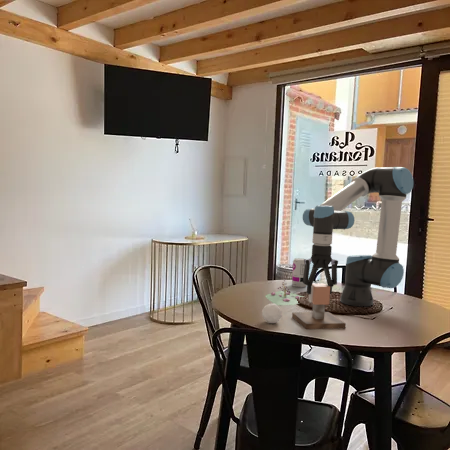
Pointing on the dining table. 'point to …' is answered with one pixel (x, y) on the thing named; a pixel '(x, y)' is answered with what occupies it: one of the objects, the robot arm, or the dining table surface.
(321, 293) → the salmon pink block
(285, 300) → the plant
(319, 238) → the robot arm
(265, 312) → the geometric ball
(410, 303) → the dining table surface
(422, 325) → the dining table surface
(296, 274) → the supplement can
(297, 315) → the post stand
